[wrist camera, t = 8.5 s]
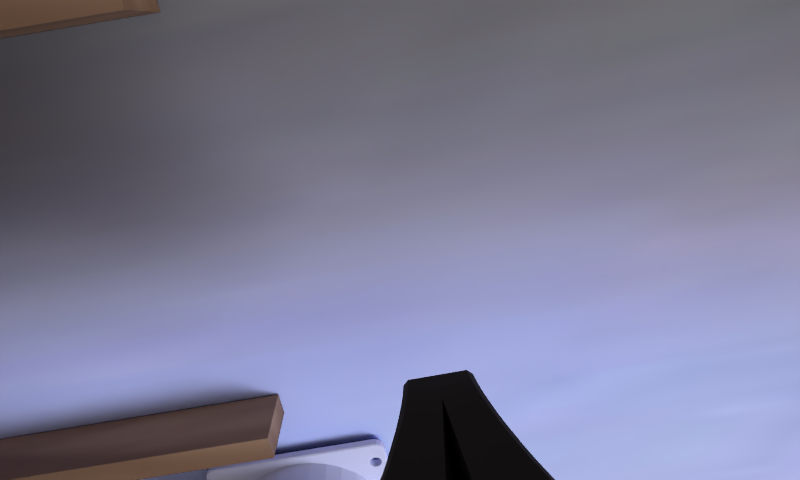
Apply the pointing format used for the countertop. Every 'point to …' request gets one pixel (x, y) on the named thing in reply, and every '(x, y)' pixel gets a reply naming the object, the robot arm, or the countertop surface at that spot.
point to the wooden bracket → (148, 435)
